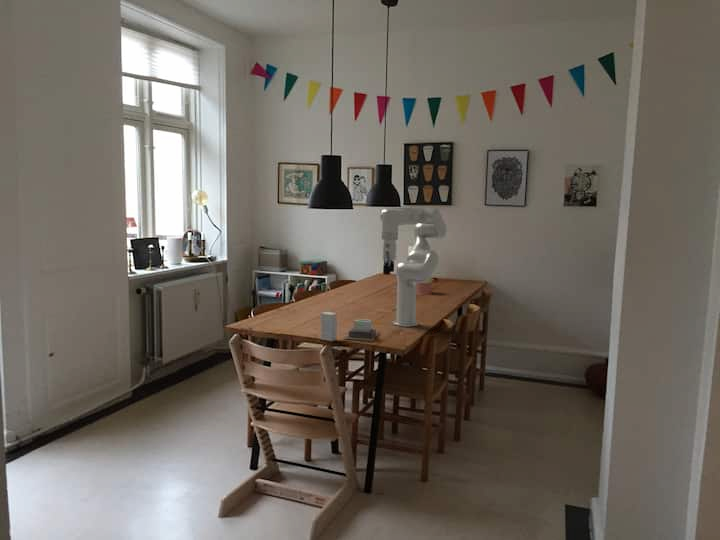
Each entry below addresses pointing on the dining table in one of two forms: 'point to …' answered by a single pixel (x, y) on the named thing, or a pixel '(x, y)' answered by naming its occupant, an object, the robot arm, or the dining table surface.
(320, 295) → the dining table surface
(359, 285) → the dining table surface
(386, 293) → the dining table surface
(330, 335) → the skincare box
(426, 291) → the canned food
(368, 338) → the keyed holder
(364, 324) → the key block
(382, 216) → the robot arm
